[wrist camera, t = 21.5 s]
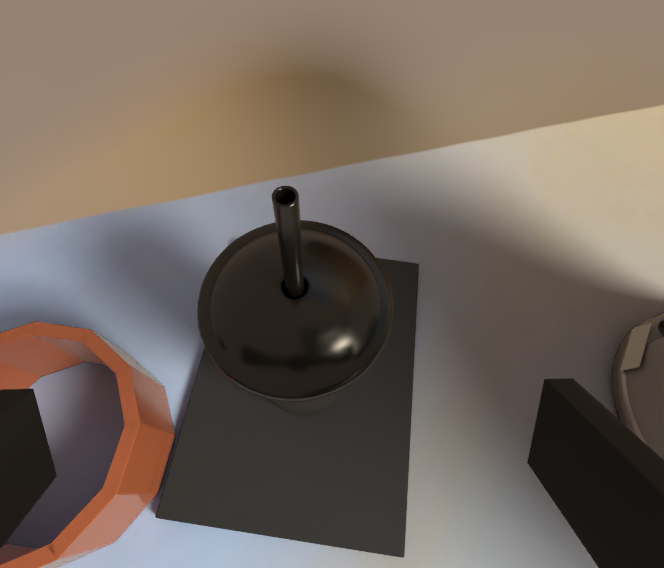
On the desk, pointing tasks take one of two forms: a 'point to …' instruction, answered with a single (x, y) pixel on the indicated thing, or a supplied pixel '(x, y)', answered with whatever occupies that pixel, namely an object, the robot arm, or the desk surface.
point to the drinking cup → (295, 310)
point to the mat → (304, 451)
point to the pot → (132, 450)
